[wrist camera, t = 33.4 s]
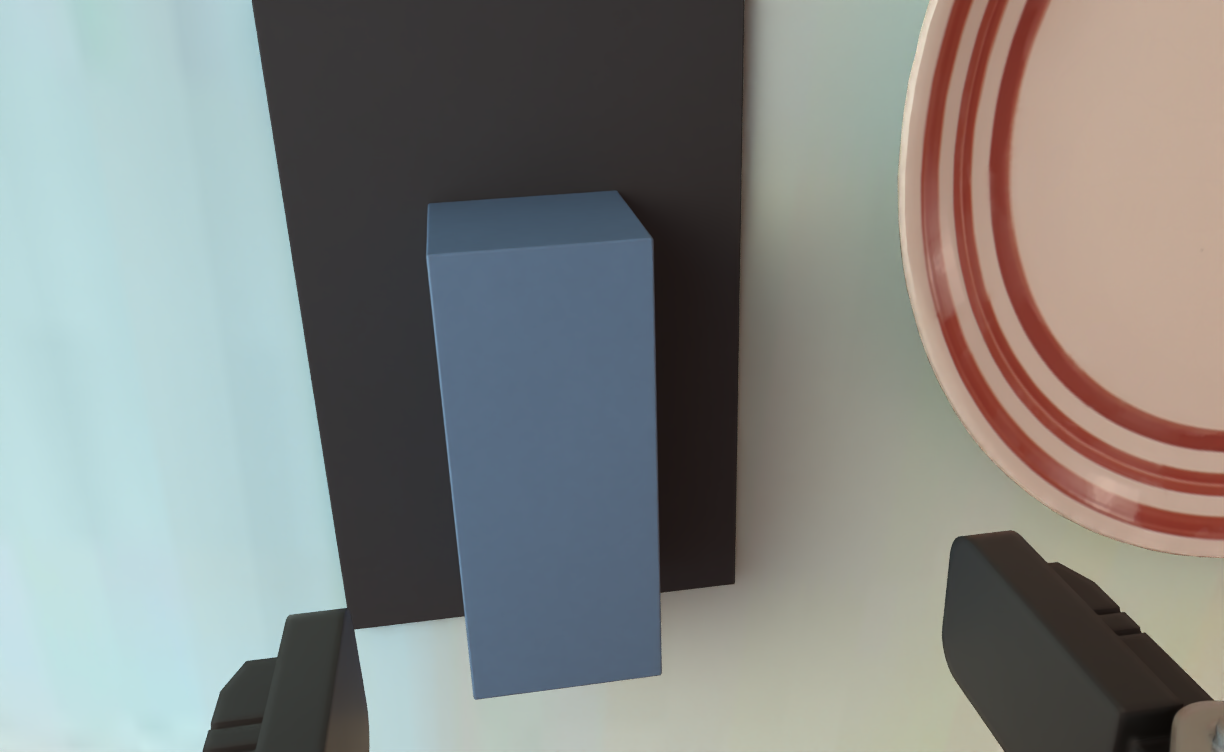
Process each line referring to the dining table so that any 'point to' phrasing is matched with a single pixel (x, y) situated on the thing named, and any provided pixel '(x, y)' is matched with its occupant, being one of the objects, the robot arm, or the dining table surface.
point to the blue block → (550, 435)
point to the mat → (492, 169)
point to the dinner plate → (1076, 251)
